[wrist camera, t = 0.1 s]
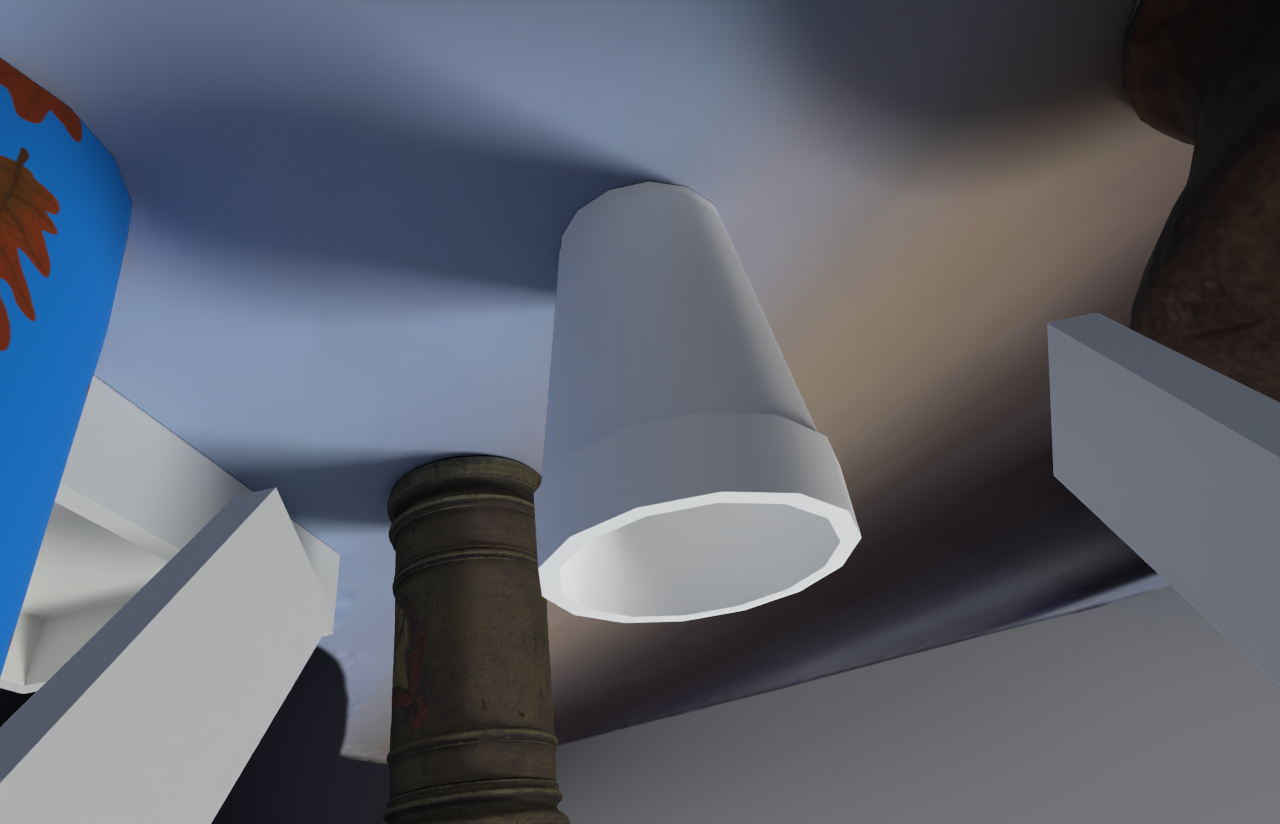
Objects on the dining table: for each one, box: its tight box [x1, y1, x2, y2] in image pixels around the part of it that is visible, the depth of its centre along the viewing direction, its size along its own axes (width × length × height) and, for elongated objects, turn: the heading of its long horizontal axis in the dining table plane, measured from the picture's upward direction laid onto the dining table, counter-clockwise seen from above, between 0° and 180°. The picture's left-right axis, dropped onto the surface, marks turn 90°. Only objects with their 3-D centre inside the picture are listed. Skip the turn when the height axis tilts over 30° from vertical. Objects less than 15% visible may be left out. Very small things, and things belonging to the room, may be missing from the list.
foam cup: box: [534, 181, 862, 623], centre depth 27 cm, size 10×9×13 cm
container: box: [383, 456, 570, 824], centre depth 40 cm, size 9×9×18 cm
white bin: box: [0, 375, 340, 694], centre depth 40 cm, size 20×20×5 cm
